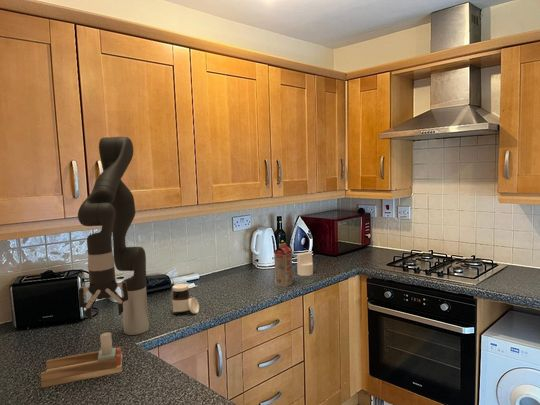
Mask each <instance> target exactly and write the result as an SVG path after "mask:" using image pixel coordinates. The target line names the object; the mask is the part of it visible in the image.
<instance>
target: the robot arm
mask: <svg viewBox="0 0 540 405" xmlns="http://www.w3.org/2000/svg"><path fill="white" fill-rule="evenodd" d="M98 152H99V159H100V163H101V167H102V172H101V173H100V174H99V175H98V177H97V179H96V180H95V182H94V184H93V187H92V191H91V193H89V195H88V196H87V197H86V198H85V199H84V200H83V201H82V203H81V205H80V207H79V209H78V212H77V219H78V222H79V223H80V225H82V226H84V227H101V229H100V231H99V232H95V233H91V234H89V235H88V236H87V237H86V245H87V246H86V247H87V270H88V280H89V285H88V286H80V287H79V289H78V307H79V308H85V312H86V318H87V319H89V321H91V320H93V308H92V305H93V304H94V303H95V300H96V299H98V300H103V299H110V298H112V299H113V300H114V301H116V302H117V308H118V310H117V311H118V316H120V315H122V323H123V333H124V335H128V336H129V335H130V336H133V335H134V336H136V335H141V334H143V333H145V332H147V331H148V330H149V329H150V327H149V312H148V297H147V256H146V251H145V248H144V247H142V246H126V235H127V233H128V230H129V228H130V226H131V224H132V223H133V221H134V220H135V219H134V218H135V216H136V204H135V198H134V194H133V192H131V190H130V189H129V188H128V186H127V185H126V184H125V183H124V182H123V181H122V178H123V177H124V174H125V172H126V171H127V170H128V167H129V165H130V164H131V162H132V159H133V157H134V144H133V142H132V139H131V138H130V137H128V136H111V137H110V136H108V137H102V138H100V140H99V143H98ZM115 269H116V270H117V271H120V272H133V275H132V276H130V277H128V278H125V279H123V280H122V281H121V282H117V280H116V270H115ZM117 288H120V293H121V294H120V295H121V296H120V295H119V293H118V292H117V291H116V290H117ZM87 292H89V293H90V294H91V296H90V298H89V299H88V301H85V295H86V294H87Z"/></svg>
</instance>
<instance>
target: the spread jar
mask: <svg viewBox="0 0 540 405" xmlns="http://www.w3.org/2000/svg"><path fill="white" fill-rule="evenodd" d="M190 293H191V292H190V290H189V284H187V283H177V284H175V285H173V286H172V292H171V302H172V313H173V314H174V315H178V316H179V315H186V314H188V313H190V312H191V314H194V315H195V314H198V313H199V312H200V304H199V302H198V301H199V300H197V298H196V297H191V295H190Z"/></svg>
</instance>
